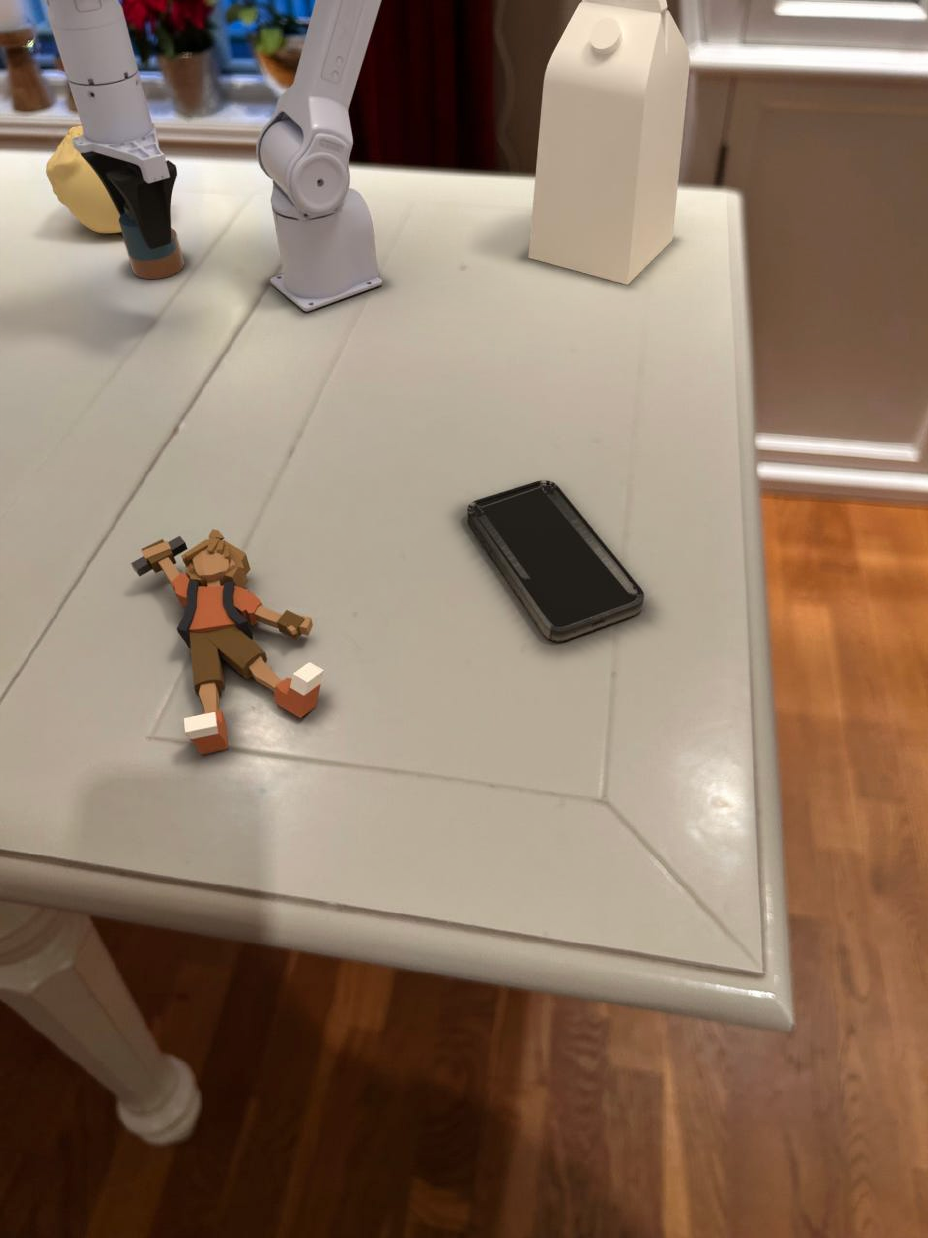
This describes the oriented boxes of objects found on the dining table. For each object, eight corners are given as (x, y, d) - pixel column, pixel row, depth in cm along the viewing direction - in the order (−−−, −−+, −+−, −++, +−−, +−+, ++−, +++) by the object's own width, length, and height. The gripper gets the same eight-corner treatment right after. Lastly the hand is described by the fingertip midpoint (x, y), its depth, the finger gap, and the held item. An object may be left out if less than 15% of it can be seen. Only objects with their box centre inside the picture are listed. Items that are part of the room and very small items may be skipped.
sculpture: (94, 199, 113) (64, 104, 105) (187, 203, 112) (164, 107, 104) (54, 242, 105) (18, 143, 97) (153, 247, 104) (125, 147, 96)
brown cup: (171, 249, 104) (161, 209, 100) (192, 268, 101) (182, 227, 97) (124, 264, 101) (112, 223, 98) (144, 284, 98) (132, 242, 95)
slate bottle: (164, 234, 89) (152, 188, 85) (183, 251, 86) (171, 204, 83) (121, 248, 87) (107, 201, 84) (139, 265, 85) (125, 218, 81)
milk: (672, 240, 103) (714, -39, 83) (627, 284, 96) (661, -6, 77) (577, 216, 107) (596, -54, 88) (528, 257, 101) (537, -24, 81)
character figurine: (130, 742, 55) (120, 522, 65) (152, 778, 59) (139, 566, 69) (329, 700, 56) (288, 493, 67) (337, 738, 60) (298, 537, 71)
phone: (550, 476, 73) (650, 599, 64) (549, 487, 74) (648, 610, 65) (461, 504, 71) (550, 635, 62) (461, 515, 72) (550, 646, 63)
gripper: (26, 61, 78) (79, 219, 88) (88, 110, 70) (139, 277, 80) (105, 44, 81) (148, 199, 91) (173, 88, 73) (212, 253, 83)
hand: (148, 234), depth 86 cm, fingers closed on slate bottle, 4 cm apart
